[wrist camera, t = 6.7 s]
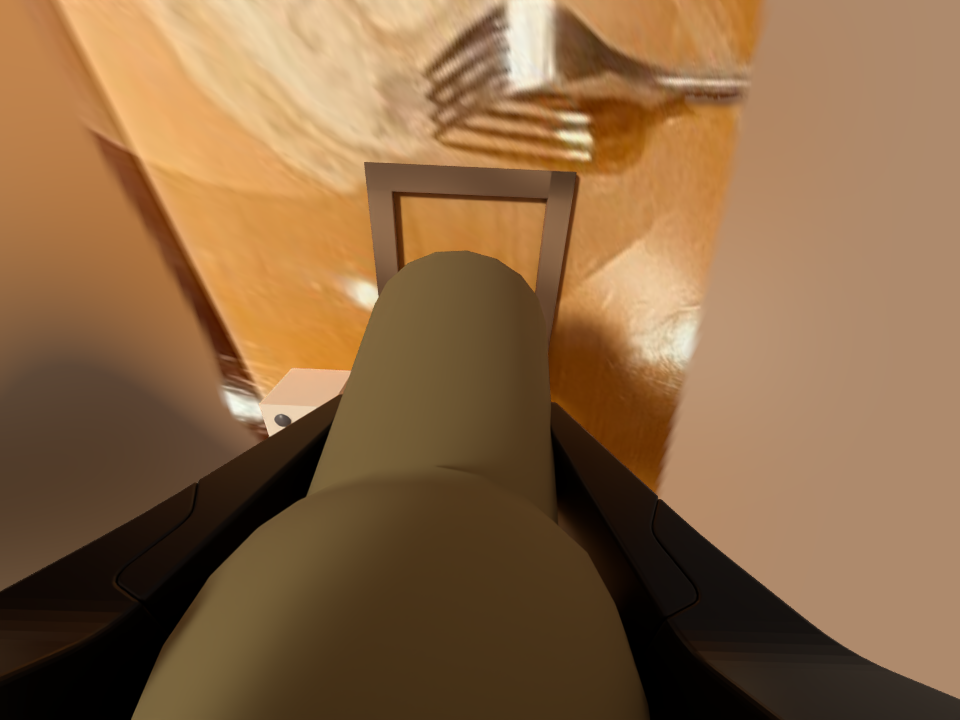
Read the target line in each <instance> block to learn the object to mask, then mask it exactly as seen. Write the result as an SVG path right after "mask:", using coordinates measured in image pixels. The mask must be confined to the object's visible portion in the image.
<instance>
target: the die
mask: <svg viewBox="0 0 960 720" xmlns="http://www.w3.org/2000/svg"><path fill="white" fill-rule="evenodd" d="M350 373H351V371H346V370H324V369H303V368H291V369H290V371H289V372H288V373H287V374H286V375H285V376H284V377H283V378H282V379H281V380H280V381H279V383H278V384H277V385H276V386H275V387H274V388H273V389H272V390H271V391H270V392H269V393H268V395H267V396H266V397H265V398H264V399H263V400H262V401H261V402H260V403H259V406H260V409H261V412H262V415H263V418H264V421H265V425H266V428H267V431H268V434H269V437H270V436H272V435H274V434H275V433H277V432H278V431H280V430H282V429H283V428H285V427H287V426H288V425H290V424H292V423H293V422H295V421H296V420H298V419H300V418H301V417H303V416H305V415H306V414H308V413H310V412H311V411H313V410H314V409H316V408H318V407H319V406H321V405H323V404H324V403H326V402H328V401H329V400H331V399H332V398H334V397H336V396H337V395H339V394H343V392H344V390H345V387H346V384H347V381H348V378H349V376H350Z"/></svg>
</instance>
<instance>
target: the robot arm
mask: <svg viewBox="0 0 960 720" xmlns="http://www.w3.org/2000/svg"><path fill="white" fill-rule="evenodd" d="M342 395H343V394H339V395H337V396H336V397H334V398H332V399H331V400H329V401H328V402H326V403H324V404H323V405H321V406H319V407H318V408H316V409H314V410H313V411H311V412H310V413H308V414H306V415H305V416H303V417H301V418H300V419H298V420H296V421H295V422H293V423H292V424H290V425H288V426H287V427H285V428H283V429H282V430H280V431H278V432H277V433H275V434H274V435H272V436H270V437H269V438H267V439H265V440H264V441H262V442H260V443H259V444H257V445H256V446H254V447H252V448H251V449H249V450H247V451H246V452H244V453H242V454H241V455H239V456H238V457H236V458H234V459H233V460H231V461H229V462H228V463H226V464H224V465H223V466H221V467H219V468H218V469H216V470H215V471H213V472H211V473H210V474H208V475H206V476H205V477H203V478H201V479H200V480H199V481H198V483H193V484H191V485H190V486H188V487H187V488H185V489H183V490H182V491H180V492H178V493H177V494H175V495H173V496H172V497H170V498H168V499H167V500H165V501H163V502H162V503H160V504H158V505H157V506H155V507H153V508H151V509H150V510H148V511H146V512H145V513H143V514H141V515H139V516H138V517H136V518H134V519H133V520H130V521H129V522H127V523H125V524H123V525H121V526H120V527H118V528H116V529H114V530H113V531H111V532H109V533H107V534H105V535H103V536H102V537H100V538H98V539H96V540H94V541H92V542H91V543H89V544H87V545H85V546H83V547H81V548H79V549H78V550H76V551H74V552H72V553H70V554H68V555H66V556H65V557H63V558H61V559H59V560H57V561H55V562H53V563H52V564H50V565H48V566H46V567H44V568H42V569H41V570H39V571H37V572H35V573H33V574H31V575H29V576H28V577H26V578H24V579H22V580H20V581H18V582H17V583H15V584H13V585H11V586H9V587H7V588H5V589H4V590H2V591H0V720H131V718H132V716H133V714H134V711H135V709H136V706H137V704H138V702H139V699H140V697H141V695H142V692H143V690H144V688H145V685H146V683H147V681H148V678H149V676H150V674H151V672H152V669H153V667H154V665H155V662H156V660H157V658H158V656H159V653H160V651H161V649H162V647H163V645H164V643H165V642H166V640H167V639H168V637H169V636H170V634H171V633H172V631H173V630H174V629H175V627H176V626H177V624H178V623H179V621H180V620H181V618H182V617H183V615H184V614H185V612H186V611H187V609H188V608H189V606H190V605H191V603H192V602H193V600H194V599H195V598H196V596H197V595H198V593H199V592H200V590H201V589H202V587H203V586H204V584H205V583H206V581H207V580H208V578H209V577H210V575H211V574H212V573H213V572H214V571H215V570H216V569H217V568H218V567H219V566H220V565H221V564H222V563H223V562H224V561H225V560H226V559H227V558H228V557H229V556H230V555H231V554H232V553H233V552H234V551H235V550H236V549H237V548H238V547H239V546H240V545H241V544H242V543H243V542H244V541H245V540H246V539H247V538H248V537H249V536H250V535H251V534H252V533H253V532H254V531H255V530H256V529H257V528H258V527H260V526H261V525H263V524H264V523H266V522H267V521H269V520H270V519H272V518H273V517H275V516H276V515H278V514H279V513H281V512H282V511H284V510H285V509H287V508H288V507H290V506H291V505H293V504H294V503H296V502H297V501H299V500H301V499H303V498H305V497H306V496H307V494H308V491H309V488H310V485H311V482H312V479H313V477H314V474H315V471H316V468H317V465H318V463H319V460H320V457H321V454H322V451H323V449H324V446H325V443H326V440H327V437H328V435H329V432H330V429H331V426H332V423H333V421H334V418H335V415H336V412H337V409H338V406H339V404H340V401H341V398H342ZM550 431H551V439H552V445H553V450H554V463H555V480H556V496H557V512H558V526H559V527H560V528H561V529H562V530H563V531H564V532H566V533H567V534H568V535H569V536H570V537H571V538H572V539H573V540H574V541H575V542H576V543H577V544H579V545H580V546H581V547H582V548H583V549H584V550H585V551H586V552H587V553H588V555H589V557H590V558H591V560H592V562H593V564H594V566H595V568H596V569H597V571H598V573H599V575H600V577H601V579H602V580H603V582H604V584H605V586H606V588H607V590H608V591H609V593H610V595H611V597H612V599H613V601H614V602H615V605H616V607H617V610H618V613H619V616H620V619H621V621H622V624H623V627H624V630H625V633H626V635H627V638H628V642H629V645H630V648H631V651H632V654H633V657H634V661H635V664H636V667H637V670H638V673H639V676H640V680H641V683H642V686H643V689H644V692H645V695H646V699H647V702H648V705H649V713H650V720H960V699H958V698H956V697H953V696H950V695H948V694H946V693H943V692H941V691H938V690H936V689H934V688H931V687H929V686H926V685H924V684H922V683H919V682H917V681H914V680H912V679H910V678H907V677H904V676H902V675H900V674H897V673H895V672H892V671H890V670H888V669H886V668H884V667H881V666H879V665H877V664H875V663H873V662H871V661H869V660H867V659H865V658H863V657H861V656H859V655H858V654H856V653H854V652H853V651H851V650H849V649H848V648H846V647H844V646H842V645H841V644H839V643H838V642H837V641H835V640H834V639H832V638H830V637H829V636H827V635H826V634H825V633H823V632H822V631H821V630H819V629H818V628H817V627H815V626H814V625H813V624H811V623H810V622H809V621H808V620H806V619H805V618H804V617H802V616H801V615H800V614H799V613H797V612H796V611H795V610H794V609H792V608H791V607H790V606H789V605H787V604H786V603H785V602H784V601H782V600H781V599H780V598H779V597H777V596H776V595H775V594H774V593H772V592H771V591H770V590H768V589H767V588H766V587H765V586H763V585H762V584H761V583H760V582H759V581H757V580H756V579H755V578H754V577H752V576H751V575H750V574H748V573H747V572H746V571H745V570H743V569H742V568H741V567H740V566H738V565H737V564H736V563H735V562H733V561H732V560H731V559H730V558H728V557H727V556H726V555H725V554H723V553H722V552H721V551H720V550H719V549H717V548H716V547H715V546H714V545H712V544H711V543H710V542H709V541H708V540H707V539H705V538H704V537H703V536H702V535H700V534H699V533H698V532H697V531H696V530H695V529H694V528H693V527H691V526H690V525H689V524H688V523H687V522H686V521H684V520H683V519H682V518H681V517H680V516H679V515H678V514H677V513H675V511H673V510H672V509H671V508H670V507H669V506H668V505H667V504H666V503H665V502H664V501H663V500H661V499H658V496H657V495H656V494H655V493H654V492H653V491H652V490H651V489H649V488H648V487H647V486H646V485H645V484H644V483H643V482H642V481H641V480H640V479H639V478H637V477H636V476H635V475H634V474H633V473H632V472H631V471H630V470H629V469H628V468H627V467H626V466H624V465H623V464H622V463H621V462H620V461H619V460H618V459H617V458H616V457H615V456H614V455H613V454H611V453H610V452H609V451H608V450H607V449H606V448H605V447H604V446H603V445H602V444H601V443H600V442H598V441H597V440H596V439H595V438H594V437H593V436H592V435H591V434H590V433H589V432H588V431H587V430H585V429H584V428H583V427H582V426H581V425H580V424H579V423H578V422H577V421H576V420H575V419H574V418H572V417H571V416H570V415H569V414H568V413H567V412H566V411H565V410H564V409H563V408H562V407H561V406H559V405H558V404H557V403H555V402H551V420H550Z"/></svg>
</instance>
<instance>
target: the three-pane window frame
mask: <svg viewBox="0 0 960 720" xmlns="http://www.w3.org/2000/svg"><path fill="white" fill-rule="evenodd" d="M364 165H365V175H366V184H367V193H368V202H369V212H370V221H371V230H372V239H373V249H374V258H375V267H376V276H377V286H378V295H379V296H380V294H381V292H382V290H383V288H384V287H385V285H386V283H387V281H388V280H390V279H391V278H392V277H393V276H394V275H395V274H396V273H398V272H399V261H398V247H397V234H396V220H395V207H394V194H393V191H398V192H419V193H441V194H462V195H484V196H506V197H527V198H547V202H546V210H545V218H544V226H543V234H542V242H541V250H540V258H539V266H538V274H537V282H536V290H535V294H536V296H537V297H538V299H539V302H540V305H541V309H542V312H543V315H544V318H545V322H546V332H547V348H548V350H549V343H550V337H551V331H552V324H553V318H554V312H555V305H556V299H557V293H558V286H559V280H560V274H561V267H562V261H563V255H564V248H565V242H566V236H567V229H568V223H569V217H570V210H571V204H572V198H573V191H574V185H575V179H576V172H563V171H542V170H521V169H499V168H478V167H457V166H436V165H415V164H394V163H373V162H364Z"/></svg>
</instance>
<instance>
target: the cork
mask: <svg viewBox="0 0 960 720" xmlns="http://www.w3.org/2000/svg"><path fill="white" fill-rule="evenodd" d="M550 420H551V397H550V381H549V364H548V348H547V332H546V322H545V318H544V315H543V312H542V309H541V305H540V302H539V299H538V297H537V296H536V294H535V293H534V292H533V290H532V289H531V288H530V286H529V285H528V284H527V282H526V281H525V280H524V278H523V277H522V276H521V275H520V274H518V273H517V272H515V271H514V270H512V269H511V268H509V267H508V266H506V265H505V264H503V263H502V262H500V261H499V260H497V259H495V258H491V257H488V256H484V255H481V254H477V253H474V252H470V251H449V252H435V253H432V254H430V255H427V256H425V257H422V258H420V259H417V260H415V261H412V262H410V263H408V264H407V265H405V266H404V267H403V268H402V269H401V270H400V271H399V272H398V273H396V274H395V275H394V276H393V277H392V278H391V279H390V280H388V281H387V283H386V285H385V287H384V288H383V290H382V292H381V294H380V296H379V298H378V300H377V302H376V303H375V305H374V308H373V311H372V314H371V317H370V319H369V322H368V325H367V328H366V331H365V333H364V336H363V339H362V342H361V345H360V347H359V350H358V353H357V356H356V359H355V362H354V364H353V367H352V370H351V373H350V376H349V378H348V381H347V384H346V387H345V390H344V392H343V395H342V398H341V401H340V404H339V406H338V409H337V412H336V415H335V418H334V421H333V423H332V426H331V429H330V432H329V435H328V437H327V440H326V443H325V446H324V449H323V451H322V454H321V457H320V460H319V463H318V465H317V468H316V471H315V474H314V477H313V479H312V482H311V485H310V488H309V491H308V494H307V496H306V497H305V498H303V499H301V500H299V501H297V502H296V503H294V504H293V505H291V506H290V507H288V508H287V509H285V510H284V511H282V512H281V513H279V514H278V515H276V516H275V517H273V518H272V519H270V520H269V521H267V522H266V523H264V524H263V525H261V526H260V527H258V528H257V529H256V530H255V531H254V532H253V533H252V534H251V535H250V536H249V537H248V538H247V539H246V540H245V541H244V542H243V543H242V544H241V545H240V546H239V547H238V548H237V549H236V550H235V551H234V552H233V553H232V554H231V555H230V556H229V557H228V558H227V559H226V560H225V561H224V562H223V563H222V564H221V565H220V566H219V567H218V568H217V569H216V570H215V571H214V572H213V573H212V574H211V575H210V577H209V578H208V580H207V581H206V583H205V584H204V586H203V587H202V589H201V590H200V592H199V593H198V595H197V596H196V598H195V599H194V600H193V602H192V603H191V605H190V606H189V608H188V609H187V611H186V612H185V614H184V615H183V617H182V618H181V620H180V621H179V623H178V624H177V626H176V627H175V629H174V630H173V631H172V633H171V634H170V636H169V637H168V639H167V640H166V642H165V643H164V645H163V647H162V649H161V651H160V653H159V656H158V658H157V660H156V662H155V665H154V667H153V669H152V672H151V674H150V676H149V678H148V681H147V683H146V685H145V688H144V690H143V692H142V695H141V697H140V699H139V702H138V704H137V706H136V709H135V711H134V714H133V716H132V718H131V720H650V713H649V705H648V702H647V699H646V695H645V692H644V689H643V686H642V683H641V680H640V676H639V673H638V670H637V667H636V664H635V661H634V657H633V654H632V651H631V648H630V645H629V642H628V638H627V635H626V633H625V630H624V627H623V624H622V621H621V619H620V616H619V613H618V610H617V607H616V605H615V602H614V601H613V599H612V597H611V595H610V593H609V591H608V590H607V588H606V586H605V584H604V582H603V580H602V579H601V577H600V575H599V573H598V571H597V569H596V568H595V566H594V564H593V562H592V560H591V558H590V557H589V555H588V553H587V552H586V551H585V550H584V549H583V548H582V547H581V546H580V545H579V544H577V543H576V542H575V541H574V540H573V539H572V538H571V537H570V536H569V535H568V534H567V533H566V532H564V531H563V530H562V529H561V528H560V527H559V526H558V512H557V496H556V480H555V463H554V450H553V445H552V439H551V431H550Z"/></svg>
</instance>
